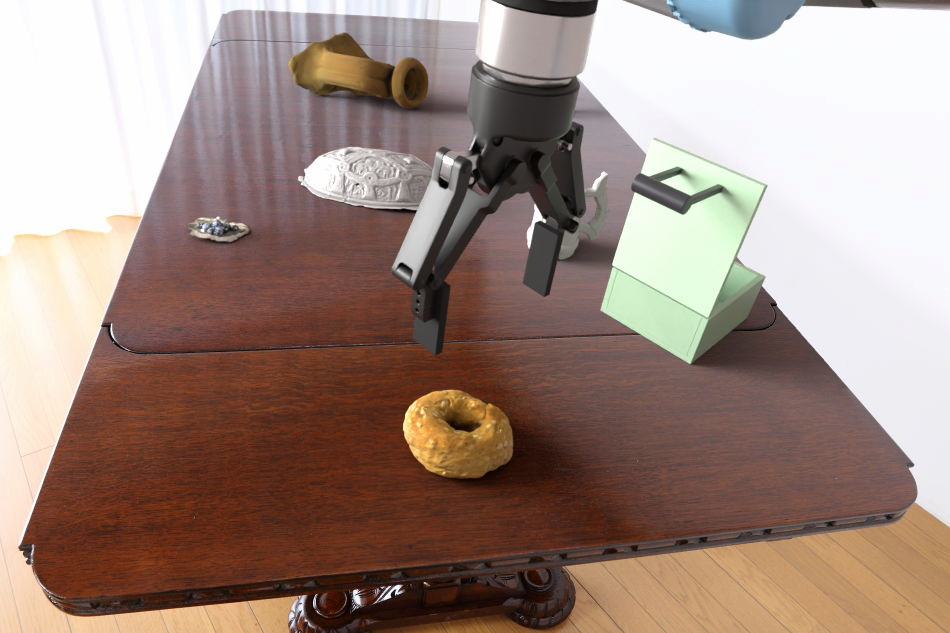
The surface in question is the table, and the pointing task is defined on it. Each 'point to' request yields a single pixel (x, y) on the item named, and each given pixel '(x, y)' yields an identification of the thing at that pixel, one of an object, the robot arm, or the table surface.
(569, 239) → the mug
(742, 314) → the box
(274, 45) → the table surface
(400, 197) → the ornate oval dome
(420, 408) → the bagel
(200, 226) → the blueberries
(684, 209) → the lunchbox lid
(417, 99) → the brown looped sculpture
